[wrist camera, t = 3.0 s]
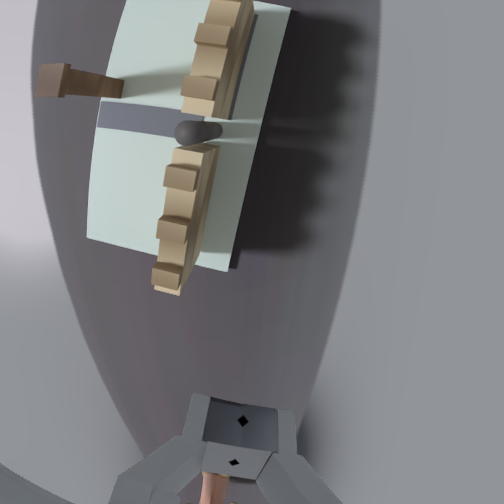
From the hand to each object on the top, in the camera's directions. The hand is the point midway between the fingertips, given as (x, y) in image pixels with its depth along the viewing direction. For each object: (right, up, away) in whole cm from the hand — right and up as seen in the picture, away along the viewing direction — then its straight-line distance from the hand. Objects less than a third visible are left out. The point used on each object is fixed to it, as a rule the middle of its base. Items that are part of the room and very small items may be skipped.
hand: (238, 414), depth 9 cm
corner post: (-9, +17, +11) cm, 22 cm away
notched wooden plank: (-3, +8, +13) cm, 16 cm away
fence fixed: (-1, +17, +10) cm, 19 cm away
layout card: (-5, +14, +12) cm, 19 cm away
